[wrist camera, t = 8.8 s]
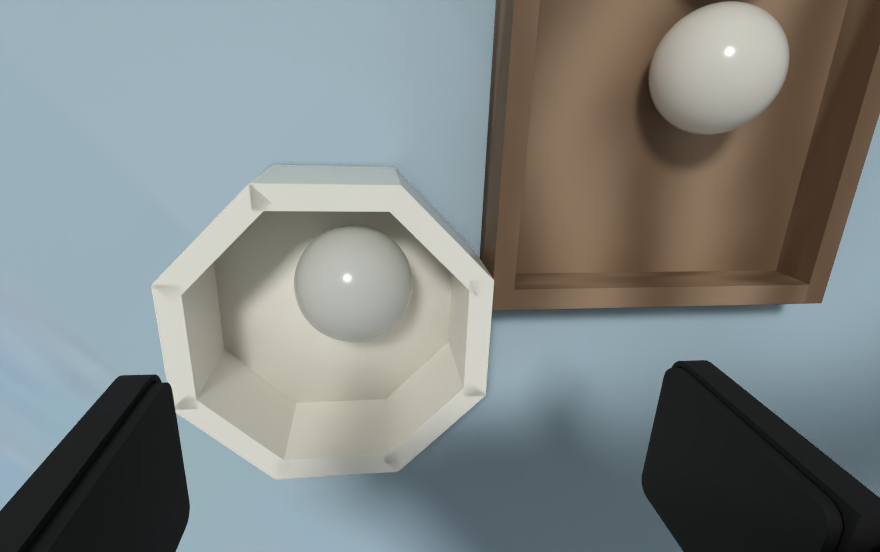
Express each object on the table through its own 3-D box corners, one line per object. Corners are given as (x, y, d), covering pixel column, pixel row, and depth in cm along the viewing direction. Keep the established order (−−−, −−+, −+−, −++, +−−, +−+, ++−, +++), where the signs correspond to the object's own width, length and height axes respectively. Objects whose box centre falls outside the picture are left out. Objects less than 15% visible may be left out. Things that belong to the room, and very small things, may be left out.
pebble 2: (742, 14, 23) (841, -6, 18) (718, 131, 24) (802, 141, 20) (636, 8, 22) (709, -15, 17) (619, 129, 24) (681, 138, 19)
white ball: (386, 209, 24) (435, 237, 20) (385, 305, 26) (430, 349, 22) (278, 217, 22) (308, 250, 18) (285, 323, 24) (315, 374, 20)
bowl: (475, 168, 24) (501, 186, 19) (461, 404, 28) (480, 466, 24) (182, 163, 22) (134, 181, 18) (215, 416, 27) (183, 485, 22)
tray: (903, -186, 22) (984, -228, 19) (776, 282, 28) (821, 303, 26) (511, -237, 19) (535, -294, 16) (478, 287, 26) (491, 310, 23)
